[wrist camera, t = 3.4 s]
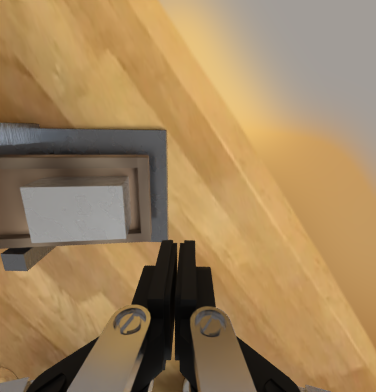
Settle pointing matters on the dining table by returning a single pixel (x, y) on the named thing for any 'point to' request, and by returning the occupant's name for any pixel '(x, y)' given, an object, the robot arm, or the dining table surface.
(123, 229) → the steel block
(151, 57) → the dining table surface
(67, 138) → the pivot stand
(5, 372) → the beer glass
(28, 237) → the long rimmed wooden tray
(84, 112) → the dining table surface
